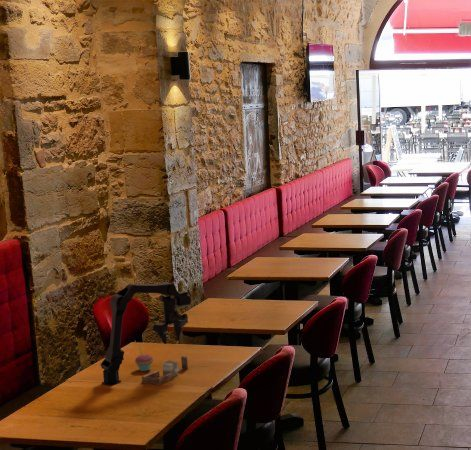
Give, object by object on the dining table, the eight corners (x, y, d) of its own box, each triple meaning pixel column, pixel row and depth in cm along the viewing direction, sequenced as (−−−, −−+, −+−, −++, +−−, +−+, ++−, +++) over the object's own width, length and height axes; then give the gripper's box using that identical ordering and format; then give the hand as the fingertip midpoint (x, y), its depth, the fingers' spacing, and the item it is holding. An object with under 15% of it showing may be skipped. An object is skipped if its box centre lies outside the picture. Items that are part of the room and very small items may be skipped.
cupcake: (132, 371, 409) (130, 346, 407) (142, 366, 416) (140, 341, 415) (147, 373, 405) (145, 348, 403) (157, 367, 412) (155, 343, 411)
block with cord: (171, 377, 396) (170, 364, 395) (163, 375, 399) (162, 363, 398) (190, 369, 407) (190, 356, 406) (182, 367, 410) (181, 355, 409)
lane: (157, 385, 386) (157, 379, 386) (142, 382, 392) (141, 376, 391) (172, 378, 394) (172, 373, 394) (157, 375, 400) (157, 370, 399)
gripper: (168, 315, 394) (171, 348, 396) (195, 306, 409) (197, 338, 411) (150, 312, 401) (153, 345, 403) (177, 304, 415) (179, 335, 418)
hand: (171, 341), depth 408 cm, fingers open, 9 cm apart
